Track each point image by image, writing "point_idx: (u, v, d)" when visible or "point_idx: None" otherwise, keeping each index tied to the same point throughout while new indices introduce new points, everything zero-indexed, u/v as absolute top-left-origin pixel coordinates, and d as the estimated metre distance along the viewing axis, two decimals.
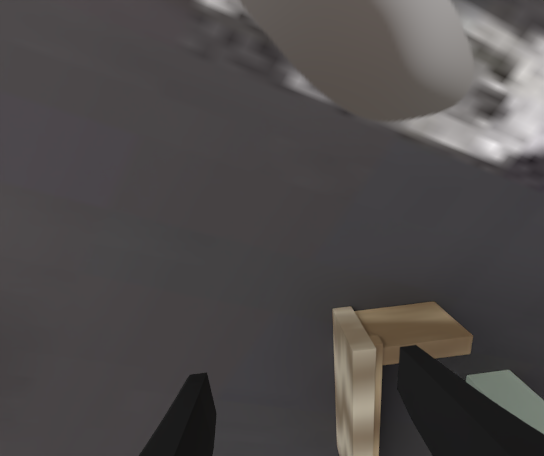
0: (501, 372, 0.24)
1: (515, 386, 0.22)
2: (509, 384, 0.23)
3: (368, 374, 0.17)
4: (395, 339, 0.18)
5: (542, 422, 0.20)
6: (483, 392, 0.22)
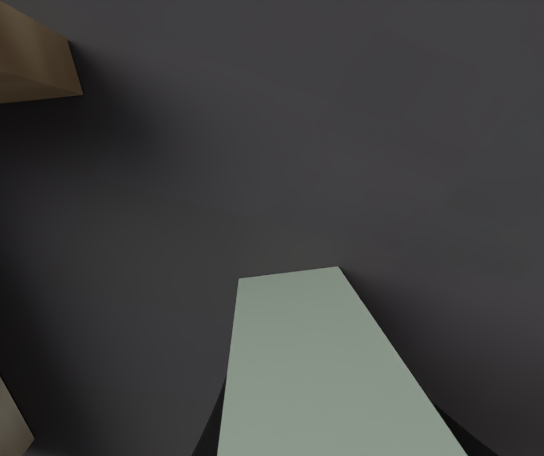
0: (316, 271, 0.10)
1: (324, 290, 0.09)
2: (314, 288, 0.09)
3: None
4: None
5: (322, 362, 0.06)
6: (238, 304, 0.09)
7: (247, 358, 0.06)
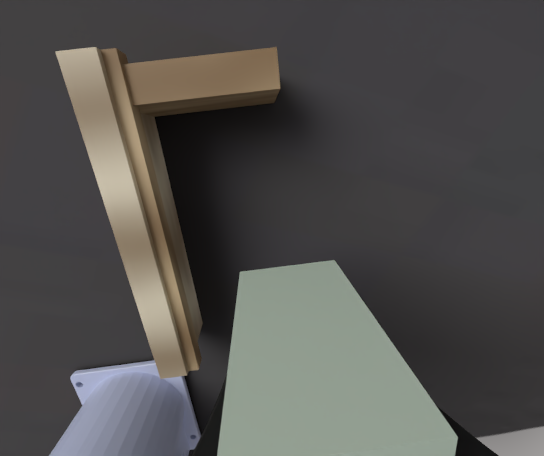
0: (314, 264, 0.11)
1: (321, 281, 0.09)
2: (311, 280, 0.10)
3: (100, 108, 0.10)
4: None
5: (318, 344, 0.07)
6: (239, 294, 0.09)
7: (247, 341, 0.07)
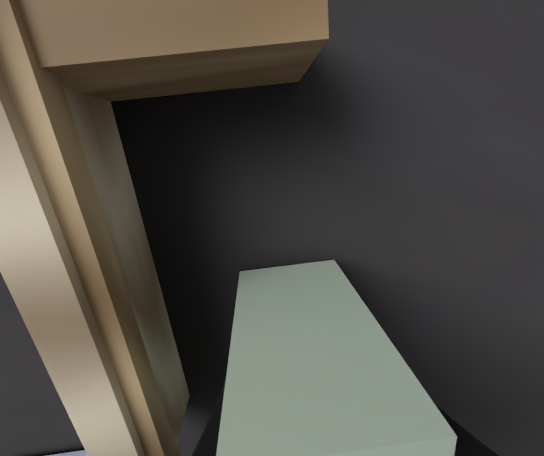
0: (313, 264, 0.11)
1: (320, 281, 0.09)
2: (311, 279, 0.10)
3: None
4: None
5: (317, 343, 0.07)
6: (239, 294, 0.09)
7: (247, 341, 0.07)
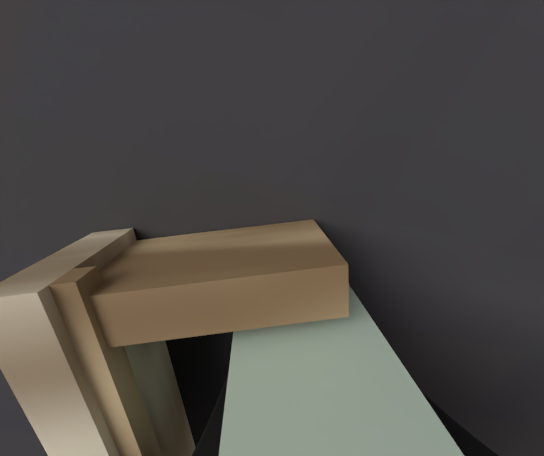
0: None
1: None
2: None
3: (50, 371, 0.06)
4: (149, 278, 0.07)
5: (320, 356, 0.06)
6: None
7: (248, 352, 0.07)
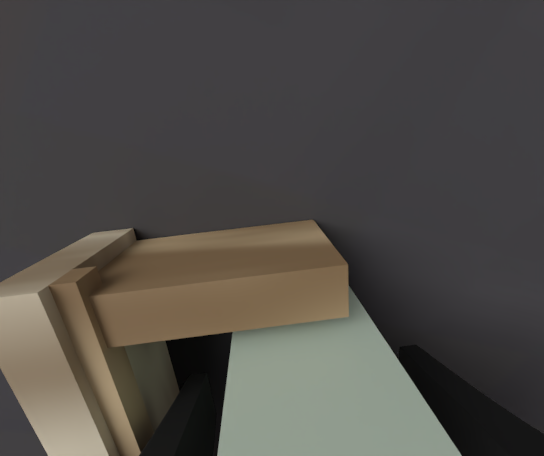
0: None
1: None
2: None
3: (51, 371, 0.06)
4: (149, 278, 0.07)
5: (318, 354, 0.06)
6: None
7: (247, 350, 0.07)
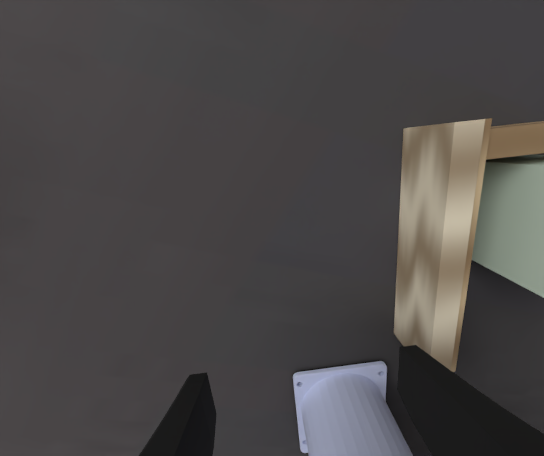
0: None
1: (542, 156, 0.16)
2: (534, 157, 0.16)
3: (470, 164, 0.13)
4: (500, 127, 0.14)
5: None
6: (499, 162, 0.16)
7: None
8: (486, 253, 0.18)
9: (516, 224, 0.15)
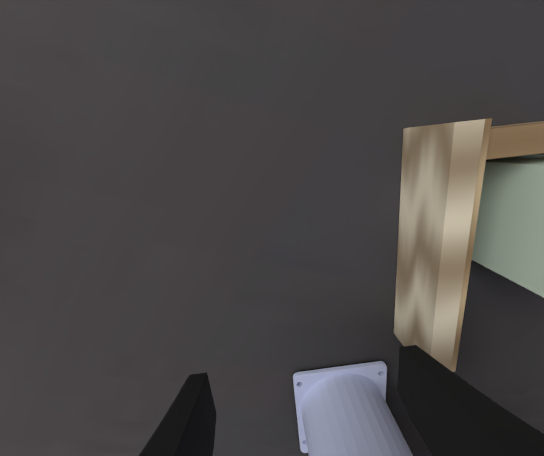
0: None
1: (542, 156, 0.16)
2: (534, 157, 0.16)
3: (470, 164, 0.13)
4: (500, 127, 0.14)
5: None
6: (498, 162, 0.16)
7: None
8: (486, 253, 0.18)
9: (516, 223, 0.15)
